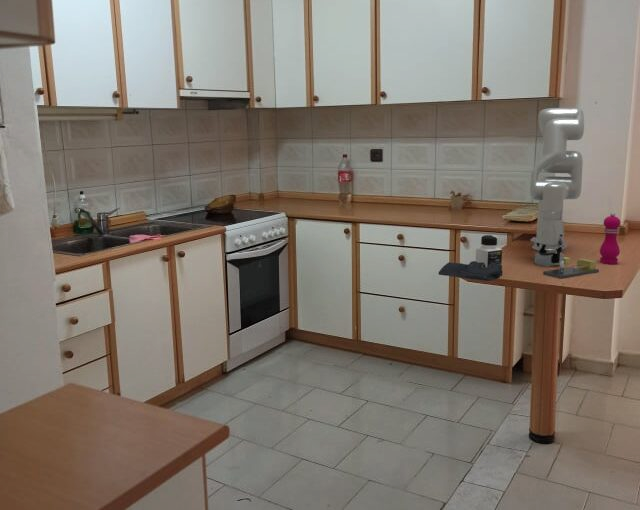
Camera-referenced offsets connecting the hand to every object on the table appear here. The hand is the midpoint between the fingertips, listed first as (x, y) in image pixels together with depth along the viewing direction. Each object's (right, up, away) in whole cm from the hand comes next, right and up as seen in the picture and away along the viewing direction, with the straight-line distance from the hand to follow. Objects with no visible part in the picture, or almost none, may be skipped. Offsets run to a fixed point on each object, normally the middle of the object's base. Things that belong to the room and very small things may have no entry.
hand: (549, 261), depth 251 cm
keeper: (+3, -4, -15) cm, 16 cm away
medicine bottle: (-25, -2, -3) cm, 25 cm away
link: (0, -1, 0) cm, 1 cm away
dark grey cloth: (-34, -5, -14) cm, 37 cm away
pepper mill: (+24, -1, +2) cm, 24 cm away
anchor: (+6, 0, +4) cm, 7 cm away
